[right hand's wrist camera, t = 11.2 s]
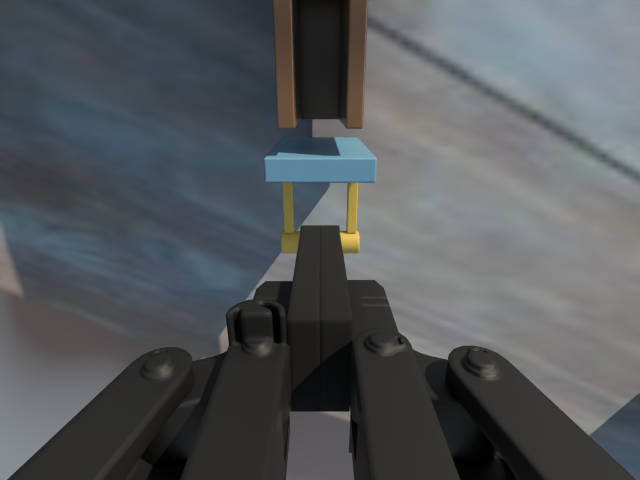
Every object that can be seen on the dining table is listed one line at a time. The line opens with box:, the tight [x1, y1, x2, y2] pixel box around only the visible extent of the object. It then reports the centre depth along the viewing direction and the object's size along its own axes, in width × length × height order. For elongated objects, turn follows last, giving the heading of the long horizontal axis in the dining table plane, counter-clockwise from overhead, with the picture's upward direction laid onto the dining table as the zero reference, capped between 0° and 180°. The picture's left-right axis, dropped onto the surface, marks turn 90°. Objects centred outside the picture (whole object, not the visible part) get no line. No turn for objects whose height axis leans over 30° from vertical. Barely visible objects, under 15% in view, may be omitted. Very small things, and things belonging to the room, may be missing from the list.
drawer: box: [264, 0, 377, 253], centre depth 20 cm, size 25×5×10 cm, turn 0°
